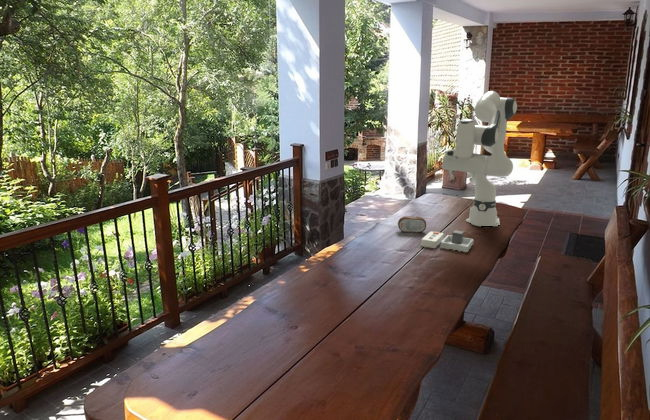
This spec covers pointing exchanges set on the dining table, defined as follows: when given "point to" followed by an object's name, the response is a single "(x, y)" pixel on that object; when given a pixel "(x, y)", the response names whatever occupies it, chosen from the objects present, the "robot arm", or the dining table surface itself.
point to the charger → (457, 237)
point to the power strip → (432, 239)
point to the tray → (449, 245)
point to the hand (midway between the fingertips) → (461, 180)
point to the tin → (412, 224)
